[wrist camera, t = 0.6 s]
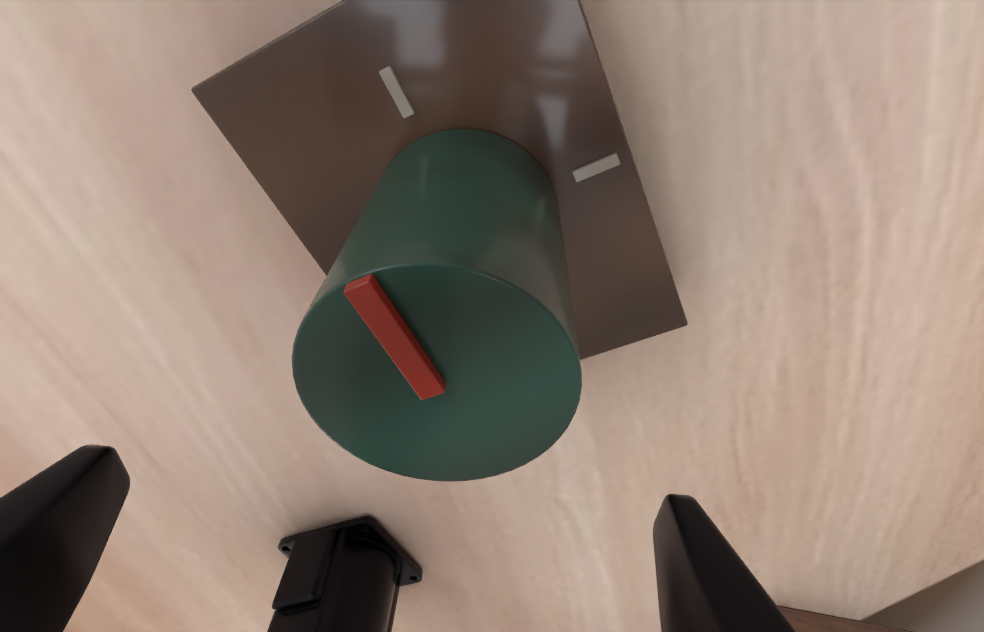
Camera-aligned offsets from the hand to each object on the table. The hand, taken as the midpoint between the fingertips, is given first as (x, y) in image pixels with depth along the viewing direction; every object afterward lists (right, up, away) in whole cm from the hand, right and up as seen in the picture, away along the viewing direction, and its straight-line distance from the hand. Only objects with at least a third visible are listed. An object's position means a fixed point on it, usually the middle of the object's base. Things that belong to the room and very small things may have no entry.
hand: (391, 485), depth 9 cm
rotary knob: (+1, +6, +9) cm, 11 cm away
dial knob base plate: (+1, +7, +11) cm, 13 cm away
